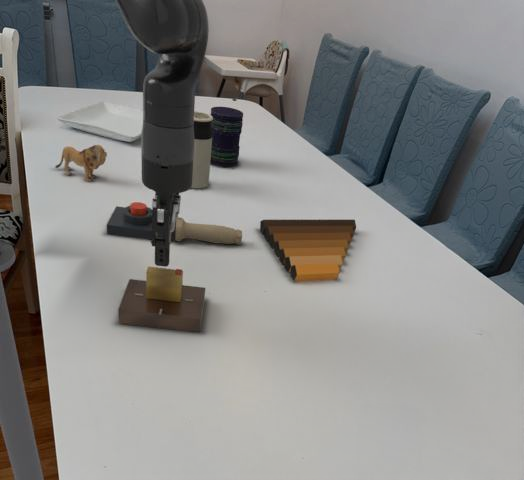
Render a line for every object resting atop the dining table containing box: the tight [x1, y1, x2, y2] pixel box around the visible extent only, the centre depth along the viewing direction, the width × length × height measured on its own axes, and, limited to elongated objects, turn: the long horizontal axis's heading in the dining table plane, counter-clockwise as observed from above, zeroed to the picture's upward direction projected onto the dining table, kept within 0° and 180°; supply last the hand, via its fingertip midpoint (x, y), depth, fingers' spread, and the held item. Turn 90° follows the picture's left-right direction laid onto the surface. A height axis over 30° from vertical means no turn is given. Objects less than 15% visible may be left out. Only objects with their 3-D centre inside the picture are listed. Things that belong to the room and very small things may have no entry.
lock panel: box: [117, 278, 206, 333], centre depth 89 cm, size 14×10×3 cm
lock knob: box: [145, 265, 184, 302], centre depth 86 cm, size 6×2×6 cm, turn 91°
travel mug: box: [190, 110, 213, 189], centre depth 133 cm, size 8×8×18 cm
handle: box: [174, 216, 243, 245], centre depth 112 cm, size 5×6×15 cm
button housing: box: [106, 205, 162, 240], centre depth 113 cm, size 12×10×4 cm
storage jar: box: [210, 98, 244, 169], centre depth 151 cm, size 10×10×18 cm
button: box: [129, 201, 148, 215], centre depth 111 cm, size 4×4×2 cm
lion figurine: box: [54, 144, 108, 182], centre depth 129 cm, size 15×5×9 cm, turn 77°
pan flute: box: [259, 219, 357, 282], centre depth 117 cm, size 25×3×25 cm
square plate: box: [56, 101, 143, 143], centre depth 165 cm, size 27×27×4 cm
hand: (165, 252), depth 83 cm, fingers open, 8 cm apart
